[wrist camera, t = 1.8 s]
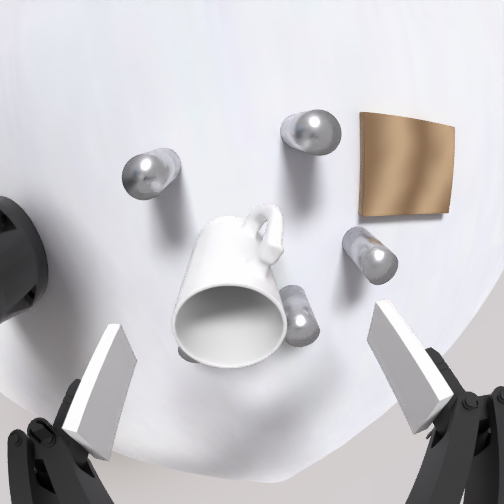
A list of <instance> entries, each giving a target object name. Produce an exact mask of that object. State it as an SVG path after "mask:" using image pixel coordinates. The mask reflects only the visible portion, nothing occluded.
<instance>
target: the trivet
mask: <svg viewBox="0 0 504 504" xmlns="http://www.w3.org/2000/svg"><path fill="white" fill-rule="evenodd" d="M360 137H361V165H360V197H359V214H360V215H361V216H362V217H367V216H387V215H409V214H435V213H449V206H450V198H451V190H452V180H453V168H454V149H455V127H452V126H447V125H443V124H439V123H434V122H429V121H424V120H418V119H413V118H407V117H400V116H394V115H386V114H378V113H369V112H360Z"/></svg>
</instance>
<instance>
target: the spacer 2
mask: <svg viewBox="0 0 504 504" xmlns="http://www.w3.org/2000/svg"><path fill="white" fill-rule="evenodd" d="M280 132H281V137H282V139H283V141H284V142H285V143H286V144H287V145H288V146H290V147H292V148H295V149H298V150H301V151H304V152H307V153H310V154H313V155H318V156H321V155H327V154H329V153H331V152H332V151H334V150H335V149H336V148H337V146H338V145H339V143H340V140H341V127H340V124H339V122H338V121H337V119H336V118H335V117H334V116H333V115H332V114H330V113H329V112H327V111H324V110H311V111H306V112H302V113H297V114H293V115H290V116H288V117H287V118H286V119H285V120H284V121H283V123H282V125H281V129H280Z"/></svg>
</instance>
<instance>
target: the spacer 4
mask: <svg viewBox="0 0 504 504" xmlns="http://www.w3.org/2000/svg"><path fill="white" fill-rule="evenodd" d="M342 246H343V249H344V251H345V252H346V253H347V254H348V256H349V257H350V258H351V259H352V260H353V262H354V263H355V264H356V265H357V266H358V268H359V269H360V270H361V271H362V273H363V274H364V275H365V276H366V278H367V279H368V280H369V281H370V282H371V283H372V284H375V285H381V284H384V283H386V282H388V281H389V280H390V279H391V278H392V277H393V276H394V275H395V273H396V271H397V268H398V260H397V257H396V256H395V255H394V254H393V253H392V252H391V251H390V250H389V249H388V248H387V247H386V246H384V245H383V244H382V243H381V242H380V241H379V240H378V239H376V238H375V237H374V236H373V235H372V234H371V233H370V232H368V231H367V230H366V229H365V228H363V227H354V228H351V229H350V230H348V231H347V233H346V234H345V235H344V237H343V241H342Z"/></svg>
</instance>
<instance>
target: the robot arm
mask: <svg viewBox="0 0 504 504" xmlns="http://www.w3.org/2000/svg"><path fill="white" fill-rule="evenodd" d="M47 279H48V268H47V261H46V256H45V252H44V248H43V245H42V242H41V240H40V237H39V235H38V233H37V231H36V229H35V227H34V225H33V223H32V222H31V220H30V219H29V217H28V216H27V214H26V213H25V212H24V211H23V209H22V208H21V207H20V206H19V205H18V204H16V203H15V202H14V201H12V200H11V199H9V198H7V197H4V196H0V324H1V323H2V322H4V321H6V320H8V319H10V318H12V317H14V316H16V315H18V314H20V313H22V312H24V311H26V310H28V309H29V308H31V307H32V306H33V305H34V304H35V303H36V302H37V301H38V299H39V298H40V297H41V296H42V294H43V293H44V291H45V289H46V285H47ZM367 342H368V344H369V346H370V347H371V349H372V351H373V353H374V355H375V357H376V359H377V361H378V363H379V364H380V366H381V368H382V370H383V372H384V374H385V376H386V378H387V380H388V382H389V384H390V386H391V388H392V390H393V392H394V394H395V396H396V398H397V400H398V402H399V404H400V406H401V409H402V411H403V413H404V415H405V417H406V419H407V421H408V423H409V426H410V428H411V430H412V432H413V434H416V433H419V432H421V431H423V430H425V429H427V428H428V427H429V426H430V425H431V423H432V422H433V424H434V426H435V427H434V428H433V430H432V431H431V432H430V433H429V434H428V435H427V437H426V439H428V438H429V437H430V436H431V438H430V441H429V445H428V448H427V451H426V454H425V457H424V460H423V462H422V465H421V468H420V471H419V473H418V476H417V478H416V481H415V483H414V485H413V488H412V490H411V492H410V495H409V497H408V499H407V501H406V503H405V504H460V501H461V498H462V495H463V492H464V489H465V494H464V502H463V504H504V387H502V386H499V387H497V388H496V389H495V390H494V391H493V392H492V394H490V395H484V396H477V395H476V394H474V393H472V392H466V391H465V390H464V389H463V388H462V386H461V385H460V383H459V381H458V380H457V378H456V377H455V376H454V374H453V372H452V371H451V369H449V367H448V365H447V364H446V363H445V362H444V359H443V358H442V356H441V355H440V354H439V353H438V352H437V351H436V350H434V349H433V348H431V347H430V348H427V349H424V348H423V346H422V345H421V343H420V342H419V341H418V339H417V338H416V336H415V335H414V334H413V332H412V331H411V329H410V328H409V327H408V325H407V324H406V323H405V321H404V320H403V318H402V317H401V316H400V314H399V313H398V312H397V310H396V309H395V308H394V306H393V305H392V304H391V303H390V301H389V300H382V301H377V302H376V303H375V308H374V312H373V317H372V321H371V325H370V329H369V333H368V337H367ZM136 362H137V359H136V357H135V355H134V353H133V351H132V348H131V346H130V344H129V342H128V340H127V337H126V335H125V333H124V330H123V328H122V326H121V324H108V326H107V328H106V330H105V332H104V334H103V336H102V338H101V340H100V342H99V344H98V346H97V348H96V350H95V352H94V354H93V356H92V358H91V360H90V362H89V365H88V367H87V369H86V371H85V373H84V376H83V378H82V380H80V379H75V381H74V382H73V383H72V384H71V385H70V386H69V388H68V390H67V392H66V396H65V397H64V399H63V403H62V404H61V406H60V409H59V411H58V414H57V416H56V418H55V421H54V424H53V426H52V425H51V424H50V423H49V422H48V421H47V420H45V419H44V418H40V417H39V418H35V419H34V420H32V421H31V423H30V424H29V426H28V428H27V435H26V434H25V433H24V432H23V431H21V430H18V429H16V430H14V431H12V432H11V433H10V435H9V437H8V474H9V486H10V494H11V501H12V504H114V503H113V501H112V499H111V498H110V496H109V494H108V493H107V491H106V490H105V488H104V486H103V484H102V482H101V481H100V479H99V477H98V475H97V473H96V471H95V469H94V468H93V465H92V464H91V461H90V460H89V459H88V458H87V457H88V454H89V453H90V454H91V455H92V456H93V457H94V458H97V459H101V460H106V461H109V459H110V455H111V451H112V447H113V443H114V439H115V435H116V431H117V427H118V423H119V419H120V416H121V412H122V409H123V405H124V401H125V398H126V395H127V391H128V388H129V385H130V381H131V378H132V375H133V372H134V369H135V365H136Z"/></svg>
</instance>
